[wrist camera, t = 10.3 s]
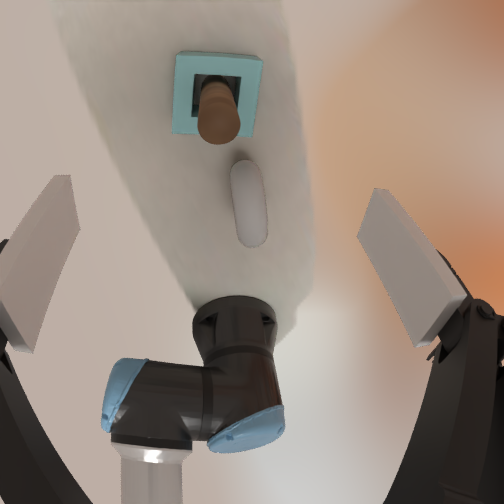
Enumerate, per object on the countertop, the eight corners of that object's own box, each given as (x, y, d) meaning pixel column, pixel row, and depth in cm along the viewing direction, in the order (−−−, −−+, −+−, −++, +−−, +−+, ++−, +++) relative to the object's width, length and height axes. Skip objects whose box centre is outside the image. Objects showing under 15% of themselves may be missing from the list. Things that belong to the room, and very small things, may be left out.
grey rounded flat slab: (225, 148, 37) (231, 188, 29) (254, 144, 37) (268, 184, 29) (234, 217, 43) (242, 268, 36) (260, 213, 43) (273, 264, 36)
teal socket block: (246, 122, 35) (252, 137, 31) (176, 119, 33) (171, 133, 30) (256, 56, 30) (263, 61, 26) (180, 51, 28) (176, 55, 25)
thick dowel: (227, 100, 33) (238, 145, 22) (200, 99, 32) (195, 143, 22) (230, 75, 31) (243, 106, 20) (202, 73, 30) (198, 103, 20)
